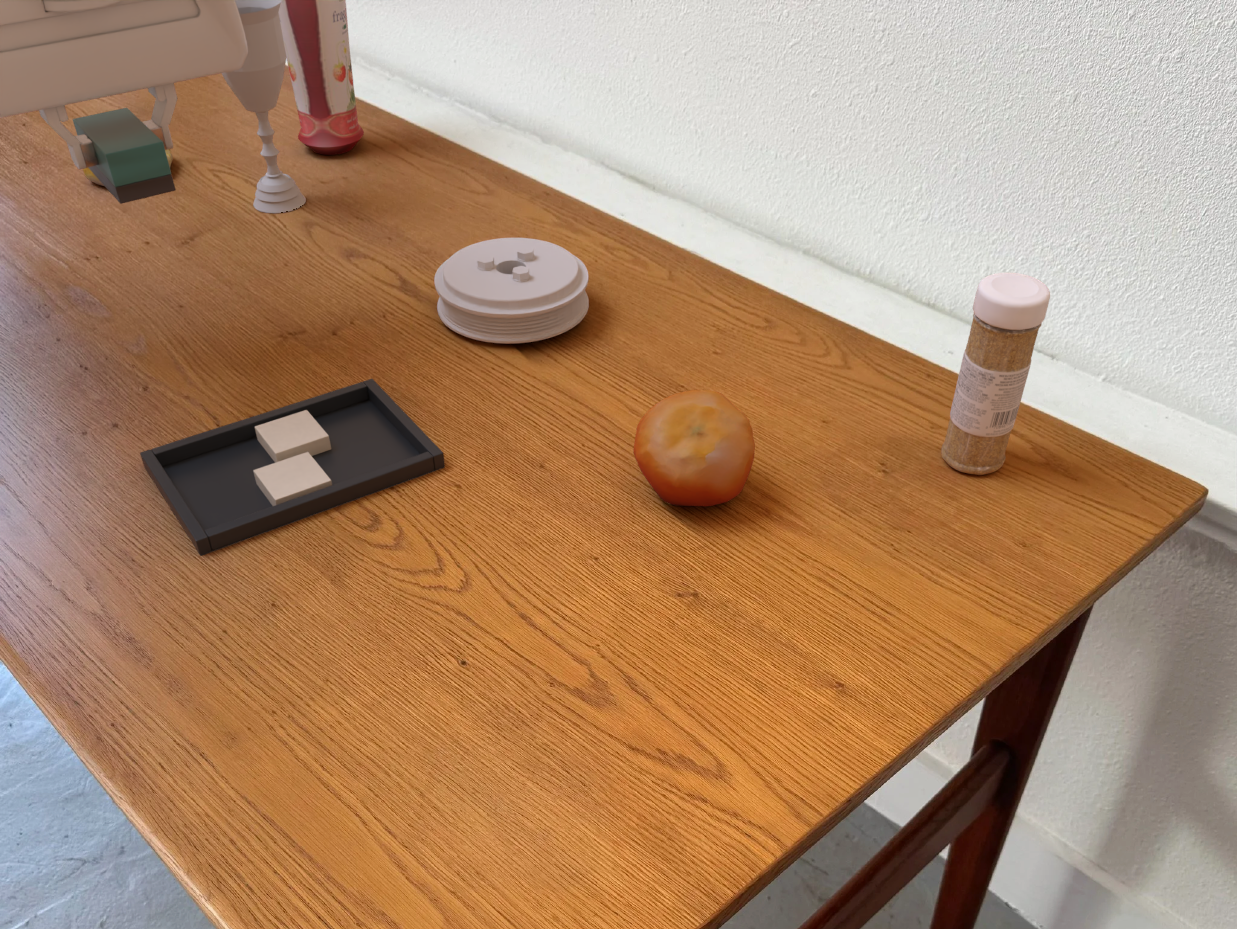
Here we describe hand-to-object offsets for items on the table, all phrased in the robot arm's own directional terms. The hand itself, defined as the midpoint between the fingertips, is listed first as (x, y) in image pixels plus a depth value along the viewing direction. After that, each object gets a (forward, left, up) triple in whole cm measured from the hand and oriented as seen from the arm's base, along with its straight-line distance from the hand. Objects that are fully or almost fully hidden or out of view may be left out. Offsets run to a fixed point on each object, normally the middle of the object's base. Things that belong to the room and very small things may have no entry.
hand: (124, 156), depth 85 cm
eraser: (0, 0, -2) cm, 2 cm away
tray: (+1, -21, -15) cm, 27 cm away
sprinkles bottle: (+42, -46, -16) cm, 65 cm away
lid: (+25, -10, -16) cm, 31 cm away
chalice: (+17, +22, -16) cm, 32 cm away
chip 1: (+2, -19, -15) cm, 24 cm away
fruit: (+23, -39, -16) cm, 48 cm away
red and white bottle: (+27, +32, -16) cm, 44 cm away
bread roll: (+7, +36, -16) cm, 40 cm away
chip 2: (0, -24, -15) cm, 28 cm away
